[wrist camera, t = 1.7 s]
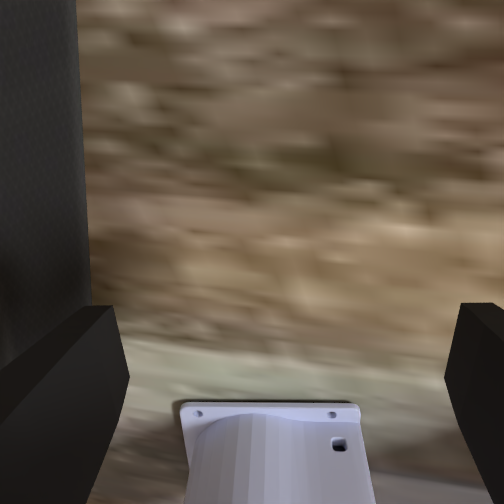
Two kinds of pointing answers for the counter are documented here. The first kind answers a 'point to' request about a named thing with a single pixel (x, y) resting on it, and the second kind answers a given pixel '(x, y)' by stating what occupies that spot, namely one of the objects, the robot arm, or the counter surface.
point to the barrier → (40, 174)
